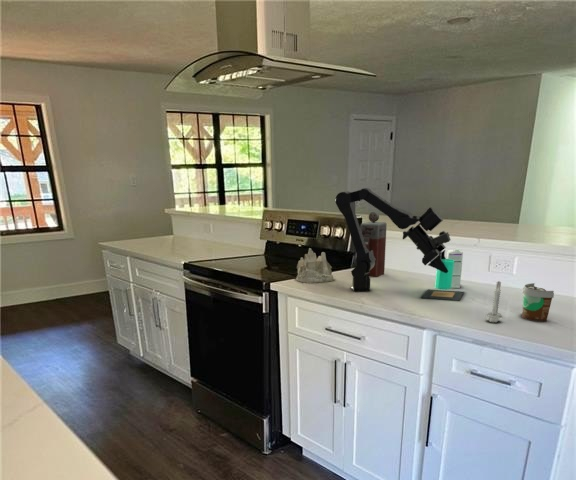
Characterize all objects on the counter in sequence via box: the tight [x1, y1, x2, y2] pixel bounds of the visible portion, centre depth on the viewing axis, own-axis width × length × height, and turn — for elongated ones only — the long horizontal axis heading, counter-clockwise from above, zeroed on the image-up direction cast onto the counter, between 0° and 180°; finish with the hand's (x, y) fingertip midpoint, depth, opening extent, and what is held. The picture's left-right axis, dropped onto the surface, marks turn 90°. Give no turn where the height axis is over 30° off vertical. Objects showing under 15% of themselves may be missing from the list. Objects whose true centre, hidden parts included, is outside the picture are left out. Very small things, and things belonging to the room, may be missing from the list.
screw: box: [485, 280, 503, 323], centre depth 159 cm, size 13×5×5 cm
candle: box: [434, 258, 454, 291], centre depth 192 cm, size 6×6×12 cm
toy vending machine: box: [359, 211, 387, 278], centre depth 230 cm, size 9×11×28 cm
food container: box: [521, 282, 555, 322], centre depth 162 cm, size 12×6×10 cm, turn 5°
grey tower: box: [446, 249, 464, 289], centre depth 206 cm, size 6×6×14 cm
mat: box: [420, 288, 465, 302], centre depth 195 cm, size 14×14×1 cm
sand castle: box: [296, 247, 335, 284], centre depth 228 cm, size 16×16×15 cm
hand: (448, 270), depth 191 cm, fingers closed on candle, 5 cm apart
